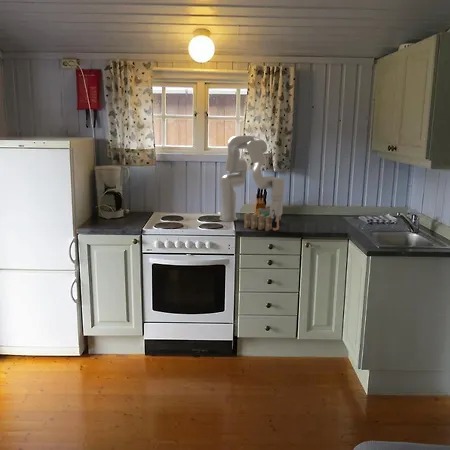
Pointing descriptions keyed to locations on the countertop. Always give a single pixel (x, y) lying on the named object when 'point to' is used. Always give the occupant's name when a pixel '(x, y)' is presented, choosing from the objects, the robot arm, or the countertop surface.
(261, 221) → the domino
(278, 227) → the domino
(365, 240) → the countertop surface
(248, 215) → the domino
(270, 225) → the domino
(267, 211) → the food container
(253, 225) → the domino
